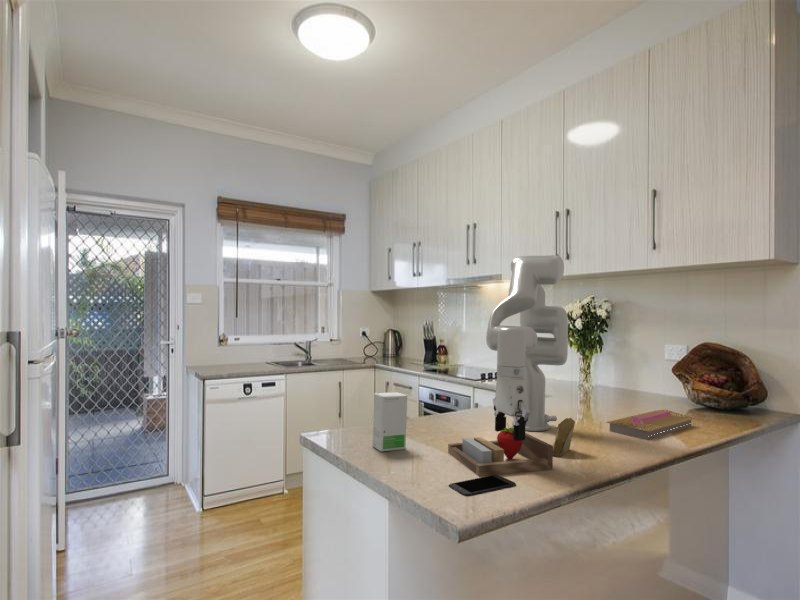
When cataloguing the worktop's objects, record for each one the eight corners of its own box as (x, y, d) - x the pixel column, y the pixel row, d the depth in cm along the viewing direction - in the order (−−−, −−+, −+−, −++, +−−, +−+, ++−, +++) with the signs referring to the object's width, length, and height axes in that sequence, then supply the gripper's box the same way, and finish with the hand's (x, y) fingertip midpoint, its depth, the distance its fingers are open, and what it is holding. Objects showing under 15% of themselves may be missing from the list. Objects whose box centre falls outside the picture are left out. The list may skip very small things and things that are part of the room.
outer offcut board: (470, 455, 130) (470, 437, 130) (491, 470, 118) (491, 450, 119) (462, 456, 129) (462, 438, 129) (482, 471, 118) (482, 451, 118)
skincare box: (380, 452, 131) (382, 396, 131) (371, 446, 136) (372, 392, 137) (407, 449, 134) (408, 394, 135) (396, 442, 140) (397, 391, 141)
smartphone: (446, 486, 107) (446, 482, 107) (496, 476, 115) (496, 473, 115) (465, 499, 101) (465, 494, 101) (518, 487, 108) (518, 483, 108)
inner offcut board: (481, 455, 131) (481, 437, 131) (503, 469, 120) (504, 449, 120) (473, 455, 130) (473, 437, 130) (495, 470, 119) (495, 450, 119)
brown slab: (653, 419, 181) (654, 403, 181) (694, 427, 170) (695, 410, 170) (605, 432, 160) (605, 414, 160) (648, 442, 149) (648, 423, 149)
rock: (565, 452, 127) (589, 443, 132) (548, 423, 131) (572, 415, 136) (542, 466, 134) (566, 457, 139) (527, 438, 139) (551, 430, 144)
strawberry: (512, 465, 122) (513, 427, 122) (491, 457, 128) (492, 421, 128) (527, 461, 125) (528, 424, 126) (506, 454, 132) (507, 418, 132)
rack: (513, 447, 138) (513, 427, 138) (552, 469, 120) (552, 445, 120) (448, 452, 132) (448, 431, 132) (478, 476, 114) (479, 451, 114)
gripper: (541, 376, 120) (539, 443, 119) (506, 368, 137) (505, 427, 136) (515, 376, 118) (514, 444, 117) (483, 368, 134) (482, 428, 134)
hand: (509, 435), depth 127 cm, fingers open, 9 cm apart
